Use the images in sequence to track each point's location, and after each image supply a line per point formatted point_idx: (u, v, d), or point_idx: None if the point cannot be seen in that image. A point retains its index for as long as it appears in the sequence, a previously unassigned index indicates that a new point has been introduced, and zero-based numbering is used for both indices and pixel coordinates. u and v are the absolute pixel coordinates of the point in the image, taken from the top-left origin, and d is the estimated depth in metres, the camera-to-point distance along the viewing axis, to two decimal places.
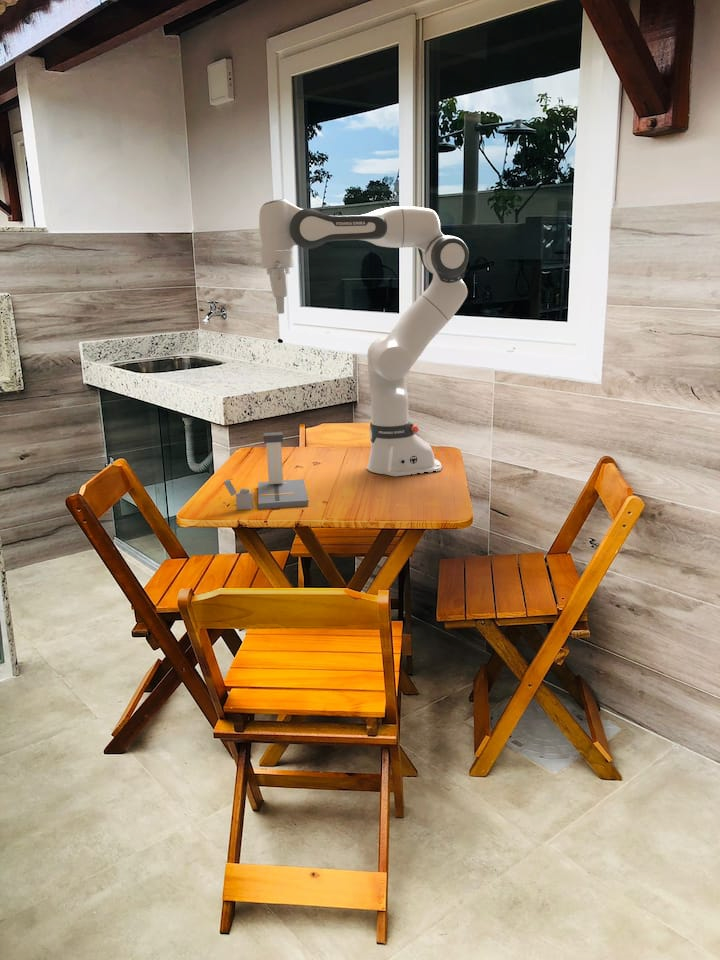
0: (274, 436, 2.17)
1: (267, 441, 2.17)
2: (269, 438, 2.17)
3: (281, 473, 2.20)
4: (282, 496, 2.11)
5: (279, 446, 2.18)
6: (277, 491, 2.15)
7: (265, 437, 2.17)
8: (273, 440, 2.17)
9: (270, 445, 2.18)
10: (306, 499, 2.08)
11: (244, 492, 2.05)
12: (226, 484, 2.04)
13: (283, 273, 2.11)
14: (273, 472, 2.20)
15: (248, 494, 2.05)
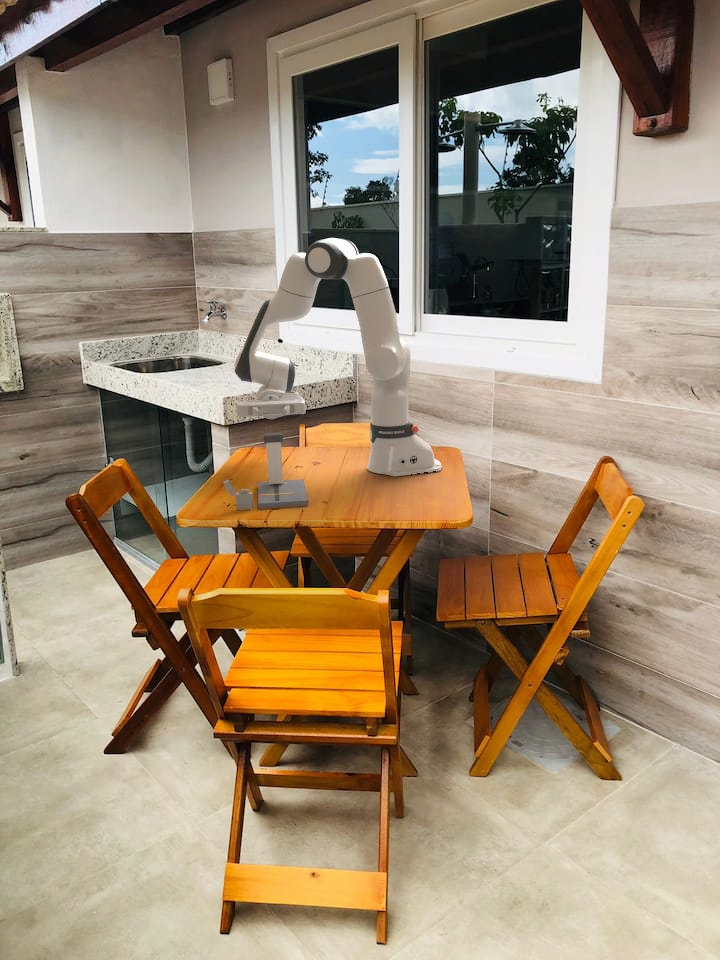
0: (274, 436, 2.17)
1: (267, 441, 2.17)
2: (269, 438, 2.17)
3: (281, 473, 2.20)
4: (282, 496, 2.11)
5: (279, 446, 2.18)
6: (277, 491, 2.15)
7: (265, 437, 2.17)
8: (273, 440, 2.17)
9: (270, 445, 2.18)
10: (306, 499, 2.08)
11: (244, 492, 2.05)
12: (226, 485, 2.04)
13: None
14: (273, 472, 2.20)
15: (248, 494, 2.05)
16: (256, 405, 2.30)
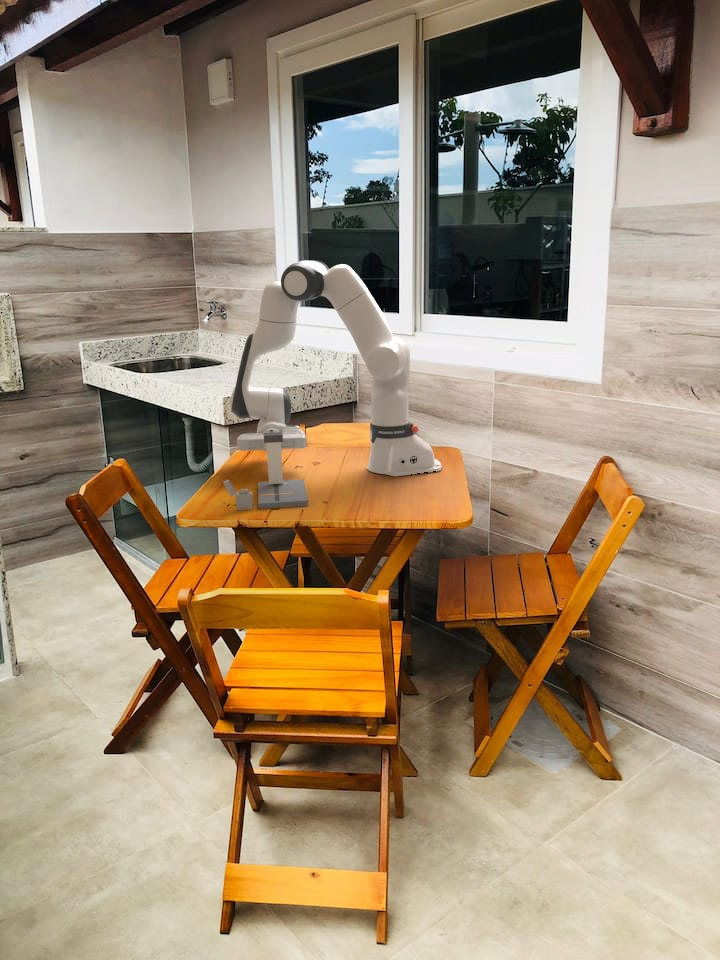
0: (274, 436, 2.17)
1: (267, 441, 2.17)
2: (269, 438, 2.17)
3: (281, 473, 2.20)
4: (282, 496, 2.11)
5: (279, 446, 2.18)
6: (277, 491, 2.15)
7: (265, 437, 2.17)
8: (273, 440, 2.17)
9: (270, 445, 2.18)
10: (306, 499, 2.08)
11: (244, 492, 2.05)
12: (226, 485, 2.04)
13: None
14: (273, 472, 2.20)
15: (248, 494, 2.05)
16: (257, 439, 2.30)
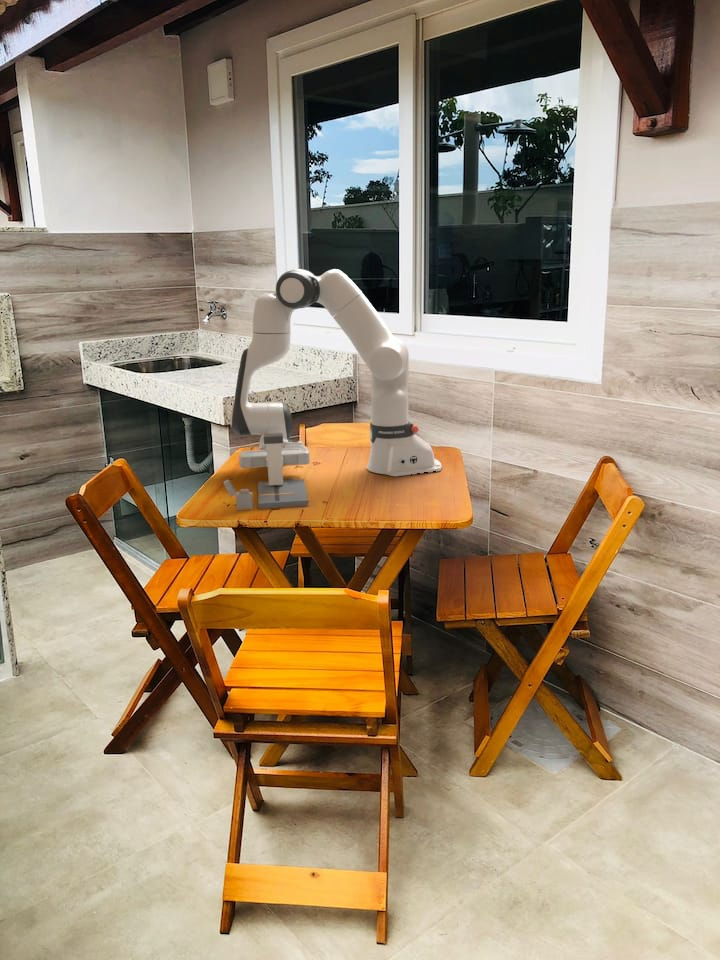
0: (274, 437, 2.16)
1: (267, 442, 2.16)
2: (269, 439, 2.16)
3: (281, 474, 2.19)
4: (282, 496, 2.11)
5: (279, 447, 2.17)
6: (277, 491, 2.15)
7: (265, 438, 2.15)
8: (273, 441, 2.16)
9: (270, 446, 2.17)
10: (306, 499, 2.08)
11: (244, 492, 2.05)
12: (226, 485, 2.04)
13: None
14: (273, 473, 2.19)
15: (248, 494, 2.05)
16: (259, 456, 2.25)
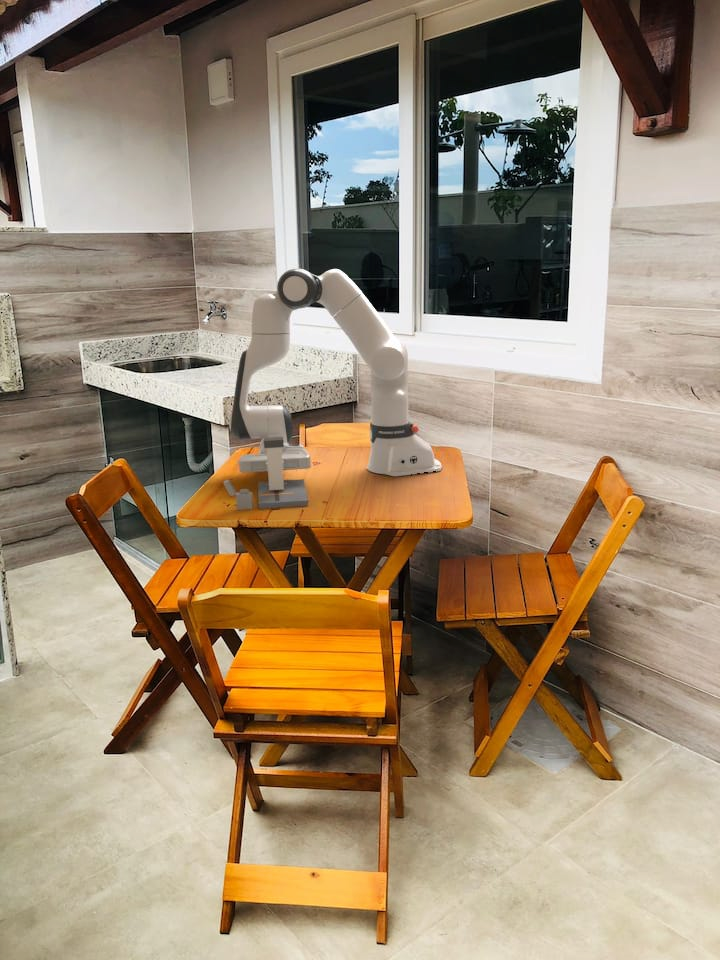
0: (274, 441, 2.11)
1: (267, 446, 2.11)
2: (269, 443, 2.11)
3: (282, 479, 2.15)
4: (282, 496, 2.11)
5: (280, 451, 2.12)
6: (277, 491, 2.15)
7: (265, 442, 2.11)
8: (273, 445, 2.12)
9: (270, 451, 2.12)
10: (306, 499, 2.08)
11: (244, 492, 2.05)
12: (226, 485, 2.04)
13: None
14: (273, 478, 2.14)
15: (248, 494, 2.05)
16: (259, 460, 2.20)
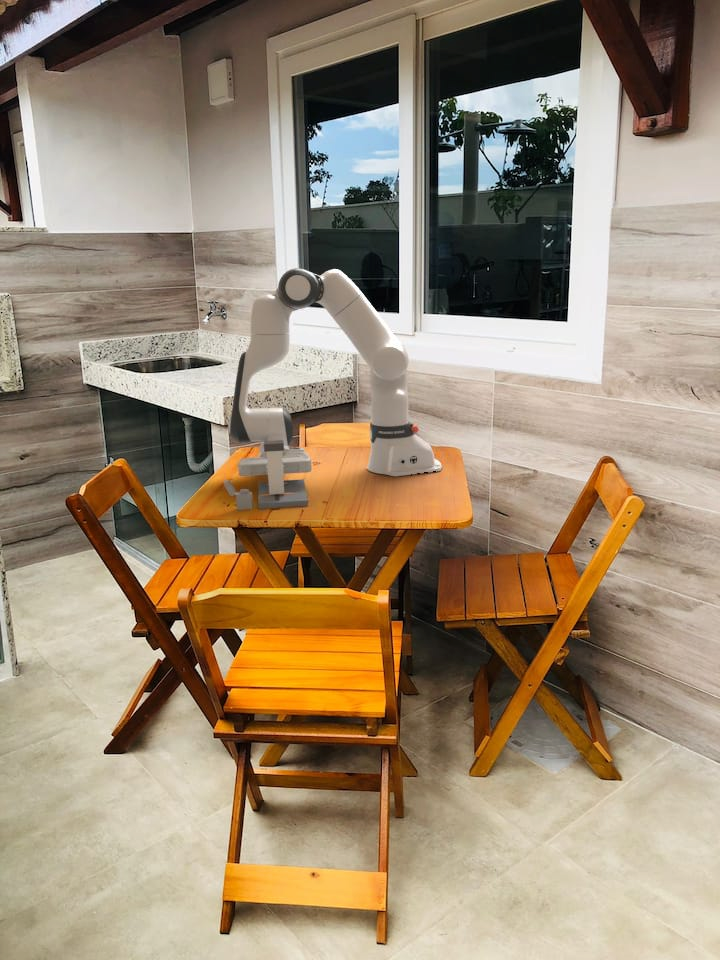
0: (275, 444, 2.08)
1: (267, 450, 2.08)
2: (270, 447, 2.08)
3: (282, 483, 2.11)
4: (282, 496, 2.11)
5: (280, 455, 2.09)
6: None
7: (265, 446, 2.07)
8: (274, 449, 2.08)
9: (270, 454, 2.08)
10: (306, 499, 2.08)
11: (244, 492, 2.05)
12: (226, 485, 2.04)
13: None
14: (274, 482, 2.11)
15: (248, 494, 2.05)
16: (259, 464, 2.17)
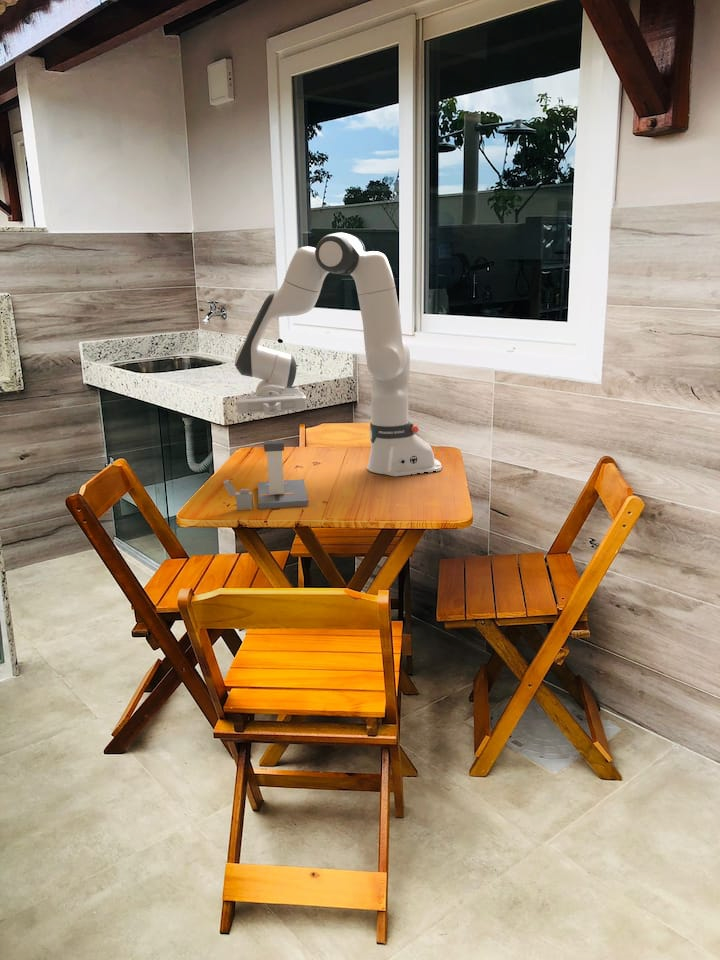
0: (275, 445, 2.08)
1: (267, 450, 2.08)
2: (270, 447, 2.08)
3: (282, 483, 2.11)
4: (282, 496, 2.11)
5: (280, 455, 2.09)
6: None
7: (265, 446, 2.07)
8: (274, 449, 2.08)
9: (270, 454, 2.08)
10: (306, 499, 2.08)
11: (244, 492, 2.05)
12: (226, 485, 2.04)
13: None
14: (274, 482, 2.11)
15: (248, 494, 2.05)
16: (256, 401, 2.26)
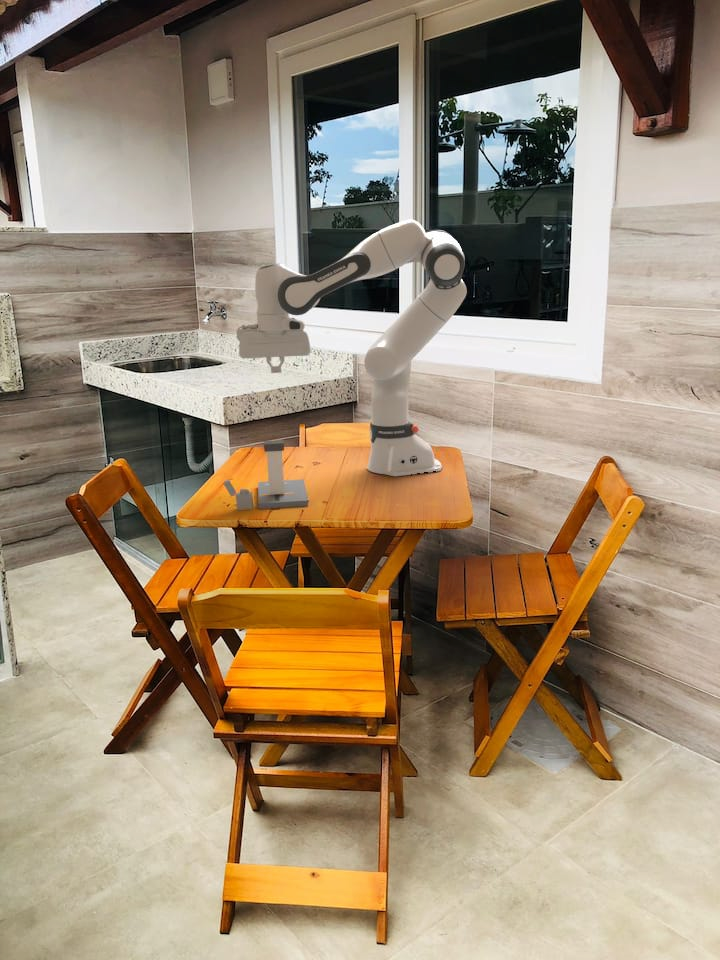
0: (275, 445, 2.08)
1: (267, 450, 2.08)
2: (270, 447, 2.08)
3: (282, 483, 2.11)
4: (282, 496, 2.11)
5: (280, 455, 2.09)
6: None
7: (265, 446, 2.07)
8: (274, 449, 2.08)
9: (270, 454, 2.08)
10: (306, 499, 2.08)
11: (244, 492, 2.05)
12: (226, 485, 2.04)
13: (240, 336, 2.21)
14: (274, 482, 2.11)
15: (248, 494, 2.05)
16: (260, 357, 2.23)
